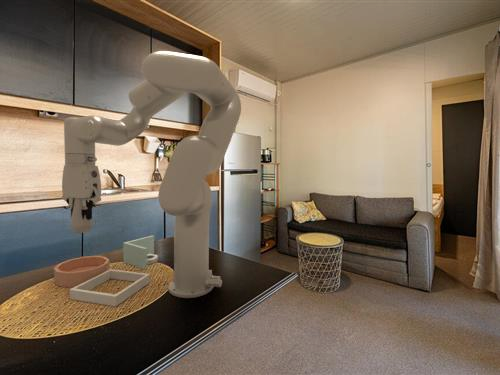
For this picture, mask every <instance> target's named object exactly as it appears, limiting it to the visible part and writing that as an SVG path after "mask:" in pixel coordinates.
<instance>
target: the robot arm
mask: <svg viewBox="0 0 500 375" xmlns="http://www.w3.org/2000/svg"><path fill="white" fill-rule="evenodd" d="M141 72H142V75H143V77H144V80H143V81H141V82H140V83H139V84H137V85H135V86H134V87H132V88H131V89H130V90H129V91H128V99H129V102H130V103H131V105H132V108H131V110H130V112H129V113H128V114H127V115H125V116H124V117H122V118H121V119H119V120H114V119H112V118H111V119H110V118H108V117H103V116H100V115H93V114H92V115H87V116H83V117H75V116H69V117H66V118H65V119H64V121H63V132H64V134H63V135H64V136H63V139H64V140H63V141H64V142H63V143H64V165H63V168H62V169H63V171H62V179H61V181H62V182H61V191H62V194H61V195H62V196H61V199H62V200H63V201H64V202H66V204H67V205H68V209H70V217H71V216H72V212H73V207H74V202H75V199H82V204H83V209H82V210H81V214H82V218H83V219H84V216H85V215H86V219H87V220H90V219H91V218H92V219H93V209H94V208H95V205H96V204H97V203H100V202H101V201H102V198H101V196H102V181H101V174H100V170H99V167H98V165H96V162H97V160H98V158H97V157H96V144H102V145H111V146H124V145H126V144H128V143H130V142H132V141H133V140H134V139H136V138H137V137H140V135H141V134H143V133H144V131H145V130H146V128H147V127H148V126H149V124H150V121H151V119H152V118H153V117H154V116H155V115H157V114H158V113H160V112H161V111H162V110H164V109H166V108H167V107H168V106H170V105H171V104H173V103H175V101H177V100H178V99H180V98H181V97H184V95H186V94H187V93H191V94H194V95H196V96H197V97H198V98H200V99H201V100H203V101H204V102H205V103H206V104H208V106H210V109H209V112H208V113H207V115H206V116H205V117H204V119H203V122H202V124H201V127H200V130H199V132H198V135H197V134H196V135H195V134H194V135H188V136H186V137H184V138H183V139H182V140H181V141H179V142H178V144H177V145H176V146H175V148H174V150H173V152H172V154H171V157H170V159H169V162H168V164H167V167H166V168H165V172H164V174H163V177H162V180H161V183H160V185H159V189H158V194H157V195H158V203H159V206H160V208H161V210H162V211H163V212H165V213H166V214H167V215H169V216H173V217H174V230H173V234H174V235H173V247H174V248H173V272H174V273H173V280H171V281H170V282H169V283H168V285H167V287H168V288H167V289H168V292H169V294H171V295H172V296H174V297H176V298H181V299H182V298H183V299H191V298H192V299H193V298H198V297H201V296H204V295H207V294H208V293H209V294H210V292H211V291H213V289H214V287H216V288H221V287H222V284H223V279H222V278H221V276H219V275H213V270H212V269H209V264H210V263H209V262H210V260H209V259H210V258H209V256H210V254H209V253H210V252H209V251H210V250H209V249H210V248H209V247H210V243H209V242H210V219H211V218H210V216H211V206H212V198H213V197H212V196H213V195H212V189H211V186H210V185H209V183H208V181H206V176H208V175H212V174H215V173H216V172H218V170H219V169H220V167H221V166H222V164H223V161H224V158H225V156H226V153H227V151H228V149H229V146H230V143H231V141H232V139H233V138H232V137H233V136H234V133H235V130H236V128H237V125H238V123H239V120H240V116H241V112H242V102H241V99H240V95H239V94H238V92H237V90H236V89H235V87H234V86H233V85H232V83H231V82H230V80H229V79H228V78H227V76H226V75H225V74H224V73H223V71H222V69H221V68H220V66H218V64H217V63H216V62H215V61H213V60H212V59H210V58H208V57H205V56H201V55H196V54H187V53H183V52H177V51H169V50H158V51H154V52H151V53H150V54H148V55H147V56H146V57H145V58H144V60H143V62H142V66H141ZM87 201H88V203H87Z"/></svg>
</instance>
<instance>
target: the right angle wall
mask: <svg viewBox="0 0 500 375" xmlns="http://www.w3.org/2000/svg"><path fill="white" fill-rule="evenodd" d="M122 244H123V247H122V248H123V263H125V264H128V265H130V266H133V267H137V268H139V269H142V270H148V265H154V264H155V263H157V262H158V260H159V255H158V254H155V235H149V236H145V237H141V238H137V239H134V240H133V239H132V240H130V241H125V242H123V243H122Z"/></svg>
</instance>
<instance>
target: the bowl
mask: <svg viewBox="0 0 500 375" xmlns="http://www.w3.org/2000/svg"><path fill="white" fill-rule="evenodd" d="M110 269H111V268H110V259H109V258H108V257H106V256H102V255H90V256H89V255H88V256H81V257H77V258H76V257H75V258H70V259H68V260H65V261H63V262H60V263H58V264H57V265H56V266H54V267H53V279H54V280H53V281H54V283H55V284H56V286H57V287H58V286H59V287H64V288H74V287H76V286H78V285H80V284H82V283H84V282H86V281H88V280H90V279H92V278H94V277H96V276H98V275H100V274H102V273H104V272H106V271H108V270H110Z"/></svg>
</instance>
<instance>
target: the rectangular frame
mask: <svg viewBox="0 0 500 375" xmlns="http://www.w3.org/2000/svg"><path fill="white" fill-rule="evenodd" d="M111 279H112V280H120V281H127V282H131V284H129V285H128V286H126V287H124V288H123V289H122V290H120V291H119V292H117V293H115V294H113V293H107V292H101V291H94V290H93V289H94V288H96V287H98V286H99V285H101V284H103V283H105V282H107V281H109V280H111ZM132 282H133V283H132ZM150 283H151V274H150V273H145V272H144V273H143V272H135V271H129V270H128V271H127V270H122V269H121V270H120V269H113V268H112V269H111V268H110V270H108V271H106V272H104V273H102V274H100V275H98V276H96V277H94V278H92V279H90V280H88V281H86V282H84V283H82V284H80V285H78V286H74V287H71V288H70V289H69V300H73V301H77V302H79V301H80V302H83V303H84V302H85V303H90V304H91V303H92V304H98V305H104V306H108V307H109V306H110V307H117V306H119V305H120V304H121V303H123V302H124V301H125V300H127V299H128V298H130V297H131V296H133V295H134V294H136V293H137V292H138V291H140V290H142V289H143V288H144V287H145V286H147V285H148V284H150Z"/></svg>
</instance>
